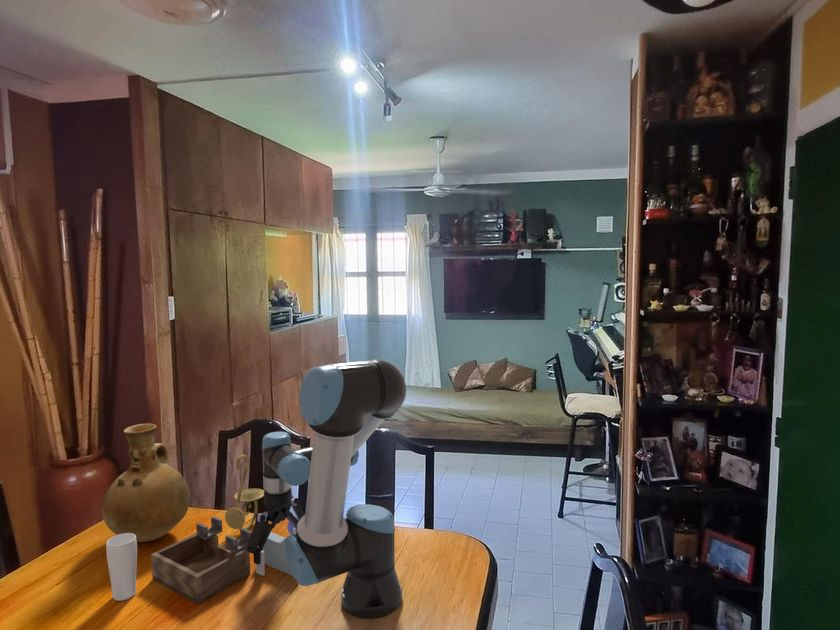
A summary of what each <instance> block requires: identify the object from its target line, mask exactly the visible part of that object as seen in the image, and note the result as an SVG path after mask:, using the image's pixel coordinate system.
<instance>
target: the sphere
mask: <svg viewBox="0 0 840 630" xmlns="http://www.w3.org/2000/svg"><path fill="white" fill-rule="evenodd" d="M293 516H295V517H296V518H297V516H296V514H295V513H294V514H293ZM297 519H298V518H297ZM286 527H287V531H288V533H289V535H291V534H293V529H294V528H296V527H295V526H294V525H293V524H292V523H291V522H290V521H289V520H287V525H286Z"/></svg>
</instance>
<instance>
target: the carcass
mask: <svg viewBox="0 0 840 630" xmlns="http://www.w3.org/2000/svg"><path fill="white" fill-rule="evenodd" d="M210 524H211V525H210V527H209V528H208V526H207V525H206V524H203V523H200V522H197V523H196V525H195V526H196V533H194V534H192V535H189V536H187V537H186V538H183V539H181V540H179V541H177V542H175V543H172V544H170V545H168V546H166V547H163V548H162V549H160V550H157V551H155V552H153V553H151V555H150V557H151V575H152V578H151V579H152V580H153V581H156V582H157V583H159V584H161V585H162V586H164V587H166V588H168V589H170V590H171V591H174V592H175V593H177V594H179V595H180V596H182V597H184V598H186V599H187V600H189V601H191V602H193V603H195V604H197V605H199V604H202V603H203V602H205V601H206V600H209V598H212V597H213V596H215V595H216V594H218V593H220V592H222V591H223V590H225V589H227V588H228V587H230V586H232V585H234V584H235V583H237V582H239V581H241V580H242V579H244V578H245V577H247V576H249V575H250V574H251V556H250V555H251V553H250V552H248V551H247V546H248V543H249V540H250V537H251V534H252V531H253V530H249V529H248V530H247V529H244V528H245V527H242V528H241V529H240V530H239V533H240V534H239V536H240V538H239V539H238V538H236V537H233V536H232V535H230V534H226V535H225V536H224V538H225V546H223V545H221V544H219V534H221V533H223V519H222V518H218V517H217V516H211V517H210Z"/></svg>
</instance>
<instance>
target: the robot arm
mask: <svg viewBox="0 0 840 630" xmlns="http://www.w3.org/2000/svg"><path fill="white" fill-rule="evenodd" d="M302 379H303V380H302V382H301V385H300V390H299V400H298V401H299V402H300V405H299V408H300V414H301V417H302V418H303V420H304V421H305V422H306V423H307V425H308V428H309V429H310V430H311V431H312V432H313V438H312V439H313V440H312V446H307V447H301V448H297V449H295V448H294V447H292V440H291V435H290V433H288V432H286V431H273V432H269V433H266V434H265V435H264V436H263V437H262V445H261V452H262V473H263V476H262V478H263V490H264V496H263V503H264V506H265V510H264V512H260V513H259V512H257V514H256V518H255V521H254V525H253V527H252V530H251V531H252V534H251V537H250V540H249V543H248V546H247V547H246V548H247V551H248V552H250V554H252V556H253V563H254V564H255V573H256V574H258V575H260V576H265V575H266V572H265V571H266V570H265V569H266V568H265V567H266V564H265V561H264V551H262V549H263V547H264V545H265V543H266V541H267V539H268V537H269V535H270V533H271V532H272V531H273V529H275V527H276V525H279V524H280V523H281V522H284V521H285V520H287V521H290V522H291V523H292V524H293V525H294V526H295V527H296V528H294V529H293V534H289V535H288V536H286V537H285V538H286V541H285V548H286V554H287V559H288V562H289V566H290V569H291V571H292V574H293V576H294V579H295V582H297V583H298V585H300V586H303V587H310V586H312V585H318V584H319V583H322V582H325V581H327V580H330V579H332V578H335V577H338V576H340V575H344V574H346V577H345V579H344V583H343V586H342V589H341V598H340V599H341V606H342V608H343V610H345V612H347V613H348V614H349V615H352V616H354V617H357V618H363V619H376V618H381V617H384V616H387V615H389V614H391V613H393V612H394V611H396V610H397V609H398V608H399V607H400V605H401V603H402V600H403V590H402V585H401V582H400V581H399V578H398V574H397V571H396V568H395V567H396V566H395V565H396V564H395V558H396V557H395V555H396V554H395V532H396V528H395V527H396V526H395V520H394V519H395V518H394V515H393V513H392V512H391V511H390V509H389V510H388V509H387V508H385V507H383V506H381V505H376V504H368V503H367V504H365V503H364V504H357V505H353V506H351V507H349V509H348V510H347V511H346V514H345V516H346V518H345V517H344V512H345V506H346V498H347V492H348V491H347V490H348V484H349V477H350V476H349V475H350V469H351V467H352V466H355V465H356V464H357V463H358V460H359V459H358V458H359V457H360V455H359V453H360V452H359V450H360V448H361V447H362V446H363V445H364V444H365V443H366V442H367V440H368V439H369V438H370V437H371V436H372V434H373V433H374V432H375V431H376V430H377V428H378V427H380V425H381V424H382V423H383V422H384V420H387V419H390V418H392V417H393V416H394V415H395V414H396V413H397V412H398V411H399V410H400V409H401V407H402V405H403V404H404V402H405V400H406V396H407V395H406V394H407V385H406V380H405V378H404V376H403V374H402V373H401V371H400V370H399V369H398V368H397V367H396V366H395V365H394V364H393V363H390V362H388V361H386V360H383V359H367V360H361V361H353V362H344V363H328V364H327V363H326V364H325V365H319V366H315V367H313V368H312V369H310V370H308V372H307V373H306V374H305V375H304V377H303V378H302ZM307 481H308V483H307V484H308V486H307V495H306V496H307V497H306V502H305V505H306V506H305V512H304V510H303V508H302V506H301V502H300V501H301V499H300V498H299V497H297V496H294V495H293V488H292V487H293V486H296V487H299V486H302V485H304V484H305V483H306V482H307ZM291 508H292V509H293V511H294V512H291ZM293 513H294V514H293ZM295 514H296V516H297V518H298V519H297V518H296V517H295V516H293V515H295ZM293 576H292V577H293Z"/></svg>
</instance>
